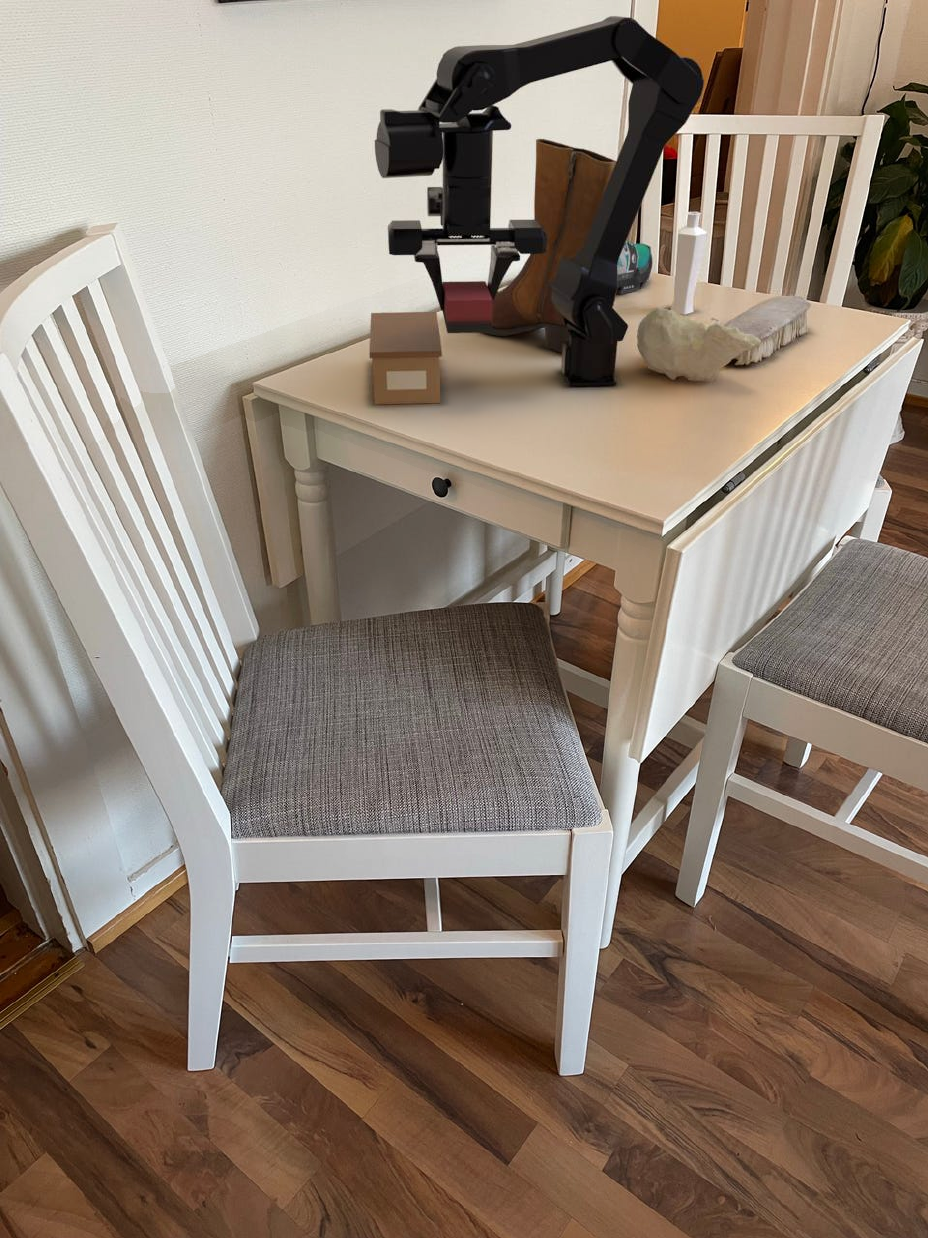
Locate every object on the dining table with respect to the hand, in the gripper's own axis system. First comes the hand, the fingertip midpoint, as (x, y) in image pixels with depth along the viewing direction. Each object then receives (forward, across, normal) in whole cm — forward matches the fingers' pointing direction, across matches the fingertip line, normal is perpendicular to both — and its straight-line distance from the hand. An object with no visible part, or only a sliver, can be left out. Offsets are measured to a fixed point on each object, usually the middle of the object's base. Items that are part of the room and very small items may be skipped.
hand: (465, 309), depth 120 cm
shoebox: (+11, +7, -5) cm, 14 cm away
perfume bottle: (+11, -38, -33) cm, 52 cm away
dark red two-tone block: (+1, 0, 0) cm, 1 cm away
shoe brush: (+11, -46, -16) cm, 50 cm away
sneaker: (+11, -28, -46) cm, 56 cm away
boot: (+11, -12, -23) cm, 28 cm away
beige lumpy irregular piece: (+11, -33, -4) cm, 35 cm away
